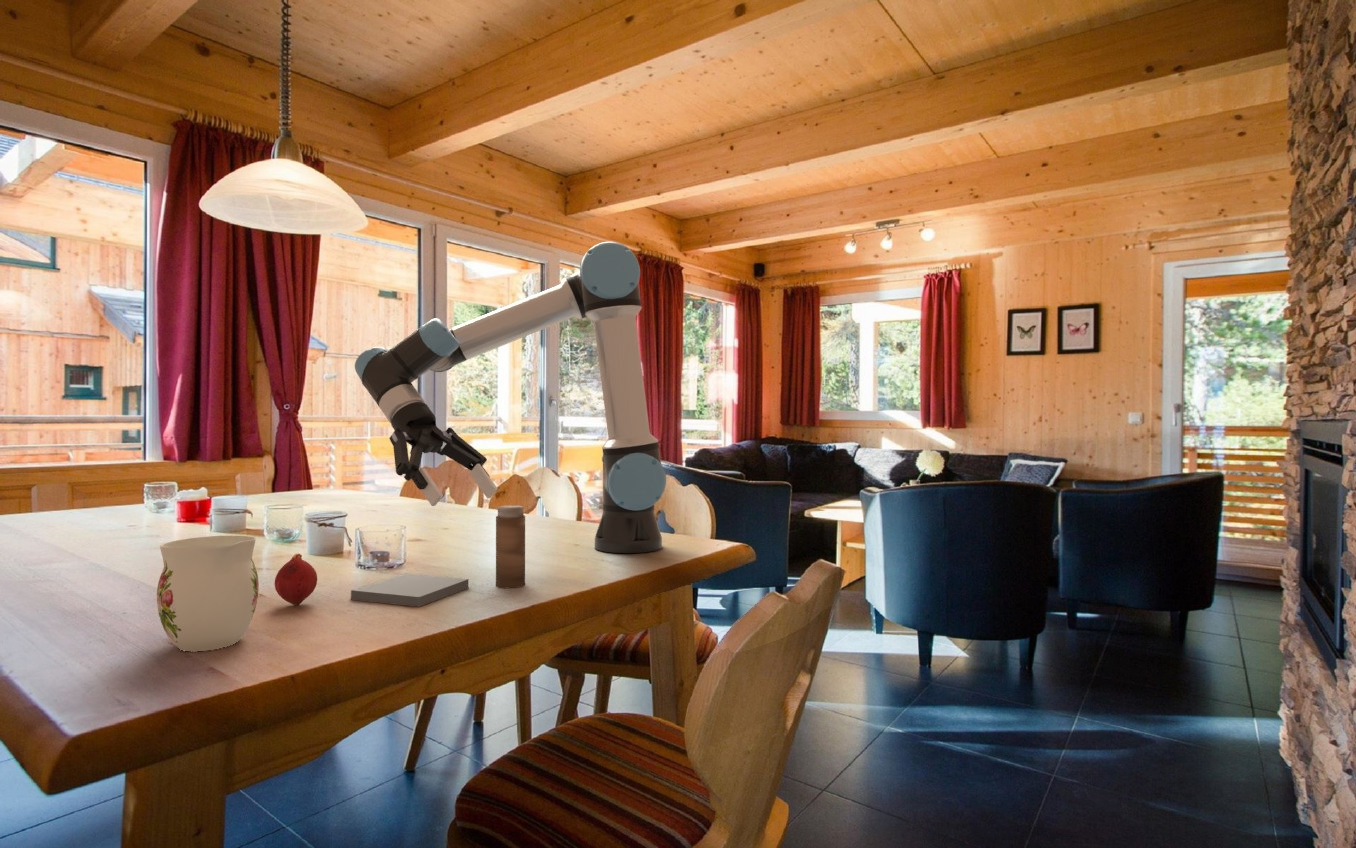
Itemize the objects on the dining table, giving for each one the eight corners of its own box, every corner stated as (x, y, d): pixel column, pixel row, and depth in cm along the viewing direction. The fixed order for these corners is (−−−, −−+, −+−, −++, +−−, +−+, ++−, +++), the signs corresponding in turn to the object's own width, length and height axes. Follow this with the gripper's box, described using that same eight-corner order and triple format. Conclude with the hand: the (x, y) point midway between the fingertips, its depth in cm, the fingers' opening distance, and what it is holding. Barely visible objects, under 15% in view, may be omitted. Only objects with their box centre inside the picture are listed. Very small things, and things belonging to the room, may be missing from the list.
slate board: (405, 582, 128) (405, 573, 128) (468, 587, 124) (468, 579, 124) (351, 599, 116) (351, 590, 116) (419, 606, 112) (419, 597, 112)
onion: (304, 610, 109) (304, 557, 109) (266, 610, 109) (266, 557, 109) (324, 600, 115) (324, 550, 115) (288, 600, 115) (288, 550, 115)
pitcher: (236, 619, 104) (236, 524, 104) (275, 648, 91) (275, 540, 91) (142, 635, 96) (142, 533, 96) (171, 670, 84) (171, 551, 84)
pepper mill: (505, 580, 130) (505, 504, 130) (530, 582, 128) (530, 506, 128) (490, 586, 125) (490, 508, 125) (515, 589, 123) (515, 509, 123)
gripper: (447, 427, 150) (502, 503, 144) (341, 428, 129) (400, 519, 122) (466, 401, 148) (523, 478, 141) (361, 398, 126) (422, 489, 119)
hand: (466, 497), depth 131 cm, fingers open, 13 cm apart
